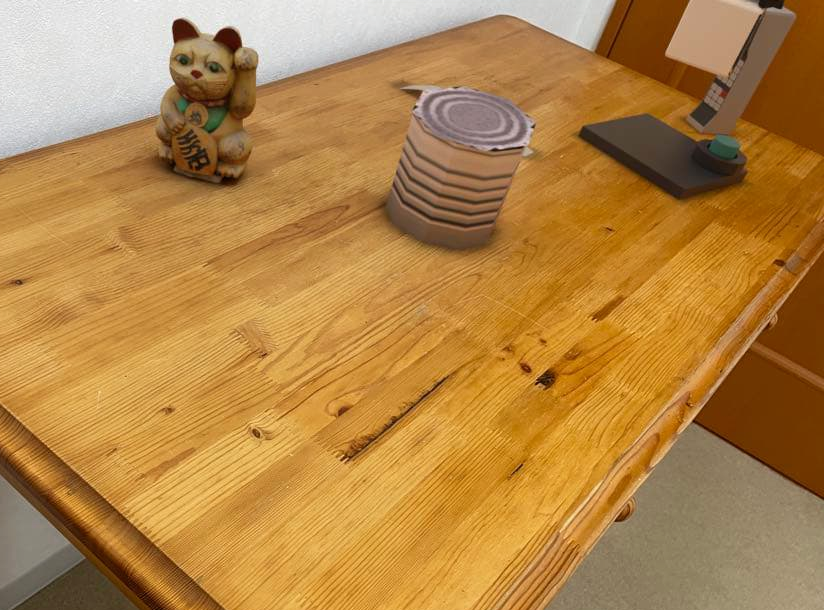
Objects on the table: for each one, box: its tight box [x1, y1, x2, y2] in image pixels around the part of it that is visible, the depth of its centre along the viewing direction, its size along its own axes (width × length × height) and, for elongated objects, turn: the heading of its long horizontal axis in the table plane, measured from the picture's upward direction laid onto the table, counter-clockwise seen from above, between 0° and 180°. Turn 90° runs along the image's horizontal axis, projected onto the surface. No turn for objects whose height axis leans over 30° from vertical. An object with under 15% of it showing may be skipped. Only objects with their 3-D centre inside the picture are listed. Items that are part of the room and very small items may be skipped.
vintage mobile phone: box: [685, 0, 797, 136], centre depth 110 cm, size 4×5×25 cm
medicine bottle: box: [664, 0, 767, 78], centre depth 91 cm, size 7×7×12 cm
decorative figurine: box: [155, 17, 259, 184], centre depth 82 cm, size 10×8×15 cm
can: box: [385, 85, 537, 251], centre depth 83 cm, size 11×11×12 cm
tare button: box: [708, 134, 742, 159], centre depth 105 cm, size 3×3×2 cm
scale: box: [577, 112, 749, 201], centre depth 107 cm, size 16×14×4 cm
